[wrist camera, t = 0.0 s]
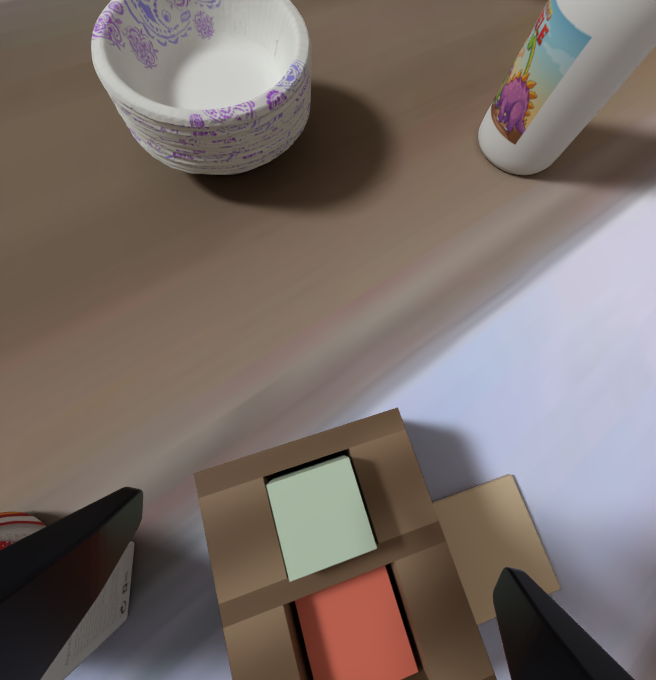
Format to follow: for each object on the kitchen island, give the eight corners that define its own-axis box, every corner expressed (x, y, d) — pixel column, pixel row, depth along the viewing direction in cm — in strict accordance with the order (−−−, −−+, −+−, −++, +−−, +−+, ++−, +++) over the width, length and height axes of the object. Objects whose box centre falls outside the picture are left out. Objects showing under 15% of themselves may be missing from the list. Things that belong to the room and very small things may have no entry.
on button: (366, 530, 18) (376, 548, 15) (293, 558, 17) (289, 581, 14) (342, 454, 19) (348, 457, 16) (273, 477, 18) (266, 485, 15)
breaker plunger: (405, 644, 18) (418, 671, 16) (320, 681, 17) (322, 714, 15) (375, 548, 19) (383, 561, 17) (295, 579, 18) (293, 596, 16)
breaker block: (450, 631, 20) (506, 707, 14) (275, 707, 19) (259, 825, 13) (376, 415, 24) (397, 407, 18) (223, 464, 22) (193, 473, 16)
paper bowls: (255, 231, 28) (234, 151, 20) (107, 155, 29) (35, 54, 22) (339, 114, 32) (349, 12, 24) (207, 53, 33) (176, -61, 26)
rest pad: (556, 586, 21) (561, 588, 21) (458, 628, 20) (460, 632, 20) (508, 474, 23) (511, 474, 23) (416, 508, 22) (418, 509, 22)
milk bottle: (557, 128, 33) (901, -305, 14) (549, 188, 31) (946, -230, 12) (482, 106, 33) (716, -346, 14) (468, 164, 31) (725, -282, 12)
